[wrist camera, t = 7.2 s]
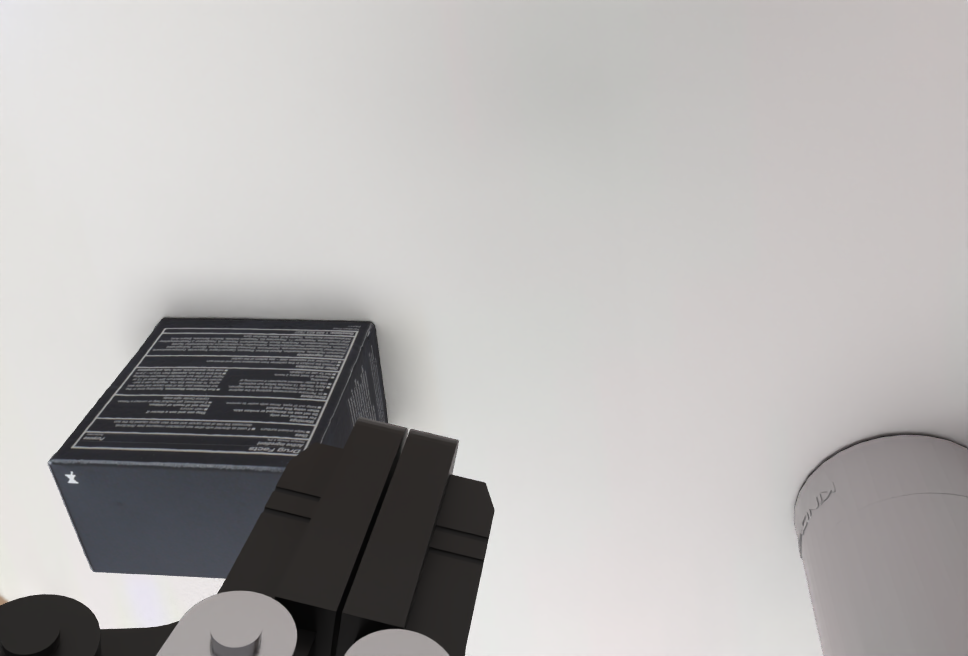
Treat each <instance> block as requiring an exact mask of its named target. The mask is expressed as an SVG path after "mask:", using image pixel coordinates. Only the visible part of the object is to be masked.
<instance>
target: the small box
mask: <svg viewBox="0 0 968 656" xmlns="http://www.w3.org/2000/svg"><path fill="white" fill-rule="evenodd" d="M359 417H363V418H367V419H371V420H376V421H380V422H384V423H388V421H387V412H386V403H385V397H384V388H383V381H382V374H381V367H380V360H379V352H378V345H377V337H376V330H375V326H374V325H373V324H372V323H371V322H345V321H282V320H211V319H161V321H160V322H159V323H158V324H157V325H156V326H155V328H154V330H153V332H152V333H151V334H150V336H149V337H148V338H147V340H146V341H145V343H144V344H143V345H142V346H141V348H140V349H139V351H138V352H137V353H136V354H135V356H134V357H133V358H132V359H131V360H130V362H129V363H128V364H127V366H126V367H125V368H124V369H123V371H122V372H121V373H120V374H119V376H118V377H117V378H116V379H115V381H114V382H113V383H112V384H111V386H110V387H109V388H108V389H107V390H106V391H105V393H104V394H103V395H102V397H101V398H100V399H99V400H98V401H97V403H96V404H95V405H94V407H93V408H92V409H91V410H90V411H89V413H88V414H87V415H86V416H85V418H84V419H83V420H82V422H81V423H80V424H79V425H78V426H77V428H76V429H75V431H74V432H73V433H72V434H71V435H70V437H69V438H68V439H67V440H66V442H65V443H64V444H63V446H62V447H61V448H60V449H59V450H58V452H56V453H55V454H54V455H53V456H52V458H51V459H50V460H49V461H48V466H49V469H50V471H51V473H52V475H53V478H54V480H55V482H56V485H57V487H58V490H59V492H60V495H61V497H62V500H63V502H64V505H65V507H66V509H67V512H68V514H69V517H70V519H71V522H72V524H73V527H74V529H75V531H76V534H77V537H78V539H79V542H80V544H81V546H82V549H83V551H84V554H85V556H86V558H87V561H88V563H89V565H90V568H91V570H92V571H93V572H106V573H125V574H148V575H167V576H187V577H206V578H225V579H226V578H227V576H228V574H229V572H230V570H231V568H232V567H233V565H234V563H235V561H236V559H237V557H238V555H239V554H240V552H241V550H242V548H243V546H244V544H245V542H246V541H247V539H248V537H249V535H250V533H251V531H252V529H253V528H254V526H255V524H256V522H257V520H258V518H259V516H260V515H261V513H262V512H263V511H264V508H265V505H266V503H267V502H268V500H269V498H270V496H271V494H272V492H273V491H275V488H276V485H277V483H278V481H279V479H280V477H281V476H282V474H283V472H284V470H285V468H286V466H287V464H288V463H289V461H290V460H291V459H293V458H294V457H295V456H297V455H298V454H300V453H301V452H302V451H304V450H305V449H306V448H308V447H309V446H311V445H312V444H313V443H315V442H317V443H321V444H325V445H329V446H334V447H338V448H342V449H344V446H345V444H346V442H347V440H348V438H349V436H350V434H351V431H352V429H353V427H354V425H355V423H356V421H357V419H358V418H359Z"/></svg>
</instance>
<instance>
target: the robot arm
mask: <svg viewBox="0 0 968 656" xmlns="http://www.w3.org/2000/svg"><path fill="white" fill-rule="evenodd" d="M407 434H408V429H407V428H405V427H401V426H397V425H392V424H388V423H384V422H380V421H376V420H371V419H367V418H363V417H359V418H358V419H357V421H356V423H355V425H354V427H353V429H352V431H351V434H350V436H349V438H348V440H347V442H346V444H345V446H344V449H342V448H338V447H334V446H329V445H325V444H321V443H317V442H315V443H313V444H312V445H311V446H309V447H308V448H306V449H305V450H304V451H302V452H301V453H300V454H298V455H297V456H295V457H294V458H293V459H291V460H290V461H289V463H288V464H287V466H286V468H285V470H284V472H283V474H282V476H281V477H280V479H279V481H278V483H277V485H276V488H275V491H273V492H272V494H271V496H270V498H269V500H268V502H267V503H266V505H265V508H264V511H263V512H262V513H261V515H260V516H259V518H258V520H257V522H256V524H255V526H254V528H253V529H252V531H251V533H250V535H249V537H248V539H247V541H246V542H245V544H244V546H243V548H242V550H241V552H240V554H239V555H238V557H237V559H236V561H235V563H234V565H233V567H232V568H231V570H230V572H229V574H228V576H227V578H226V580H225V581H224V583H223V585H222V587H221V589H220V590H219V592H218V593H217V594H216V595H213V596H210V597H208V598H206V599H204V600H202V601H200V602H199V603H197V604H195V605H194V606H193V607H192V608H191V609H189V610H188V611H187V612H186V613H185V615H184V616H183V617H182V618H181V620H180V621H178V622H175V623H172V624H168V625H163V626H158V627H149V628H127V629H100V627H99V623H98V621H97V619H96V617H95V615H94V614H93V612H92V611H91V610H90V609H89V608H88V607H86V606H85V605H84V604H83V603H81V602H79V601H77V600H75V599H72V598H69V597H65V596H60V595H46V594H42V595H33V596H27V597H23V598H19V599H16V600H13V601H10V602H7V603H5V604H3V605H0V656H465V649H466V644H467V639H468V634H469V630H470V625H471V620H472V615H473V610H474V606H475V601H476V596H477V591H478V587H479V582H480V577H481V572H482V568H483V562H484V558H485V553H486V549H487V544H488V539H489V534H490V529H491V525H492V520H493V515H494V507H493V504H492V501H491V498H490V495H489V492H488V489H487V486H486V483H484V482H480V481H476V480H472V479H467V478H463V477H459V476H455V475H452V473H453V468H454V463H455V458H456V454H457V449H458V443H459V440H456V439H452V438H448V437H443V436H439V435H435V434H431V433H427V432H423V431H418V430H414V429H411V430H410V432H409V434H408V437H407ZM794 524H795V528H796V533H797V537H798V543H799V552H800V556H801V558H802V560H803V565H804V569H805V574H806V578H807V583H808V588H809V593H810V597H811V602H812V606H813V611H814V615H815V620H816V624H817V629H818V633H819V638H820V642H821V647H822V651H823V655H824V656H968V449H967V448H965V447H963V446H960V445H958V444H956V443H953V442H951V441H948V440H944V439H939V438H935V437H930V436H919V435H898V436H889V437H881V438H877V439H873V440H870V441H866V442H862V443H859V444H857V445H854V446H852V447H850V448H848V449H845V450H843V451H841V452H839V453H838V454H836V455H835V456H833V457H832V458H830V459H829V460H827V461H826V462H824V463H823V464H822V465H821V466H820V467H819V468H818V469H817V470H816V471H815V472H814V473H813V474H812V475H811V476H810V477H809V478H808V479H807V481H806V483H805V484H804V486H803V487H802V489H801V490H800V492H799V495H798V498H797V501H796V505H795V512H794Z"/></svg>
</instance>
